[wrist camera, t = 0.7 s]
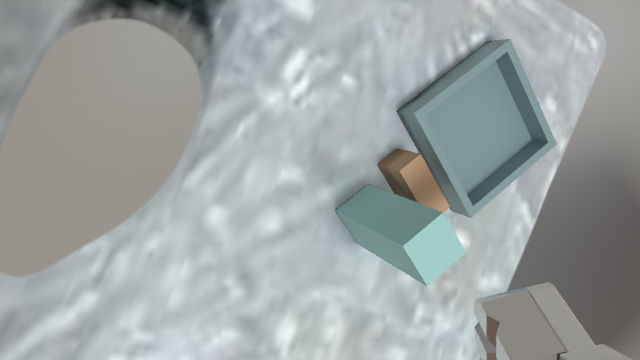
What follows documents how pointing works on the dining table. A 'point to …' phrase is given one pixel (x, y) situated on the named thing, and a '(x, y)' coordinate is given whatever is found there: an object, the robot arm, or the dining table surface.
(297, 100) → the dining table surface
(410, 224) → the peg
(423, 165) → the brown rectangular block
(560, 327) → the robot arm
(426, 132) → the tray
